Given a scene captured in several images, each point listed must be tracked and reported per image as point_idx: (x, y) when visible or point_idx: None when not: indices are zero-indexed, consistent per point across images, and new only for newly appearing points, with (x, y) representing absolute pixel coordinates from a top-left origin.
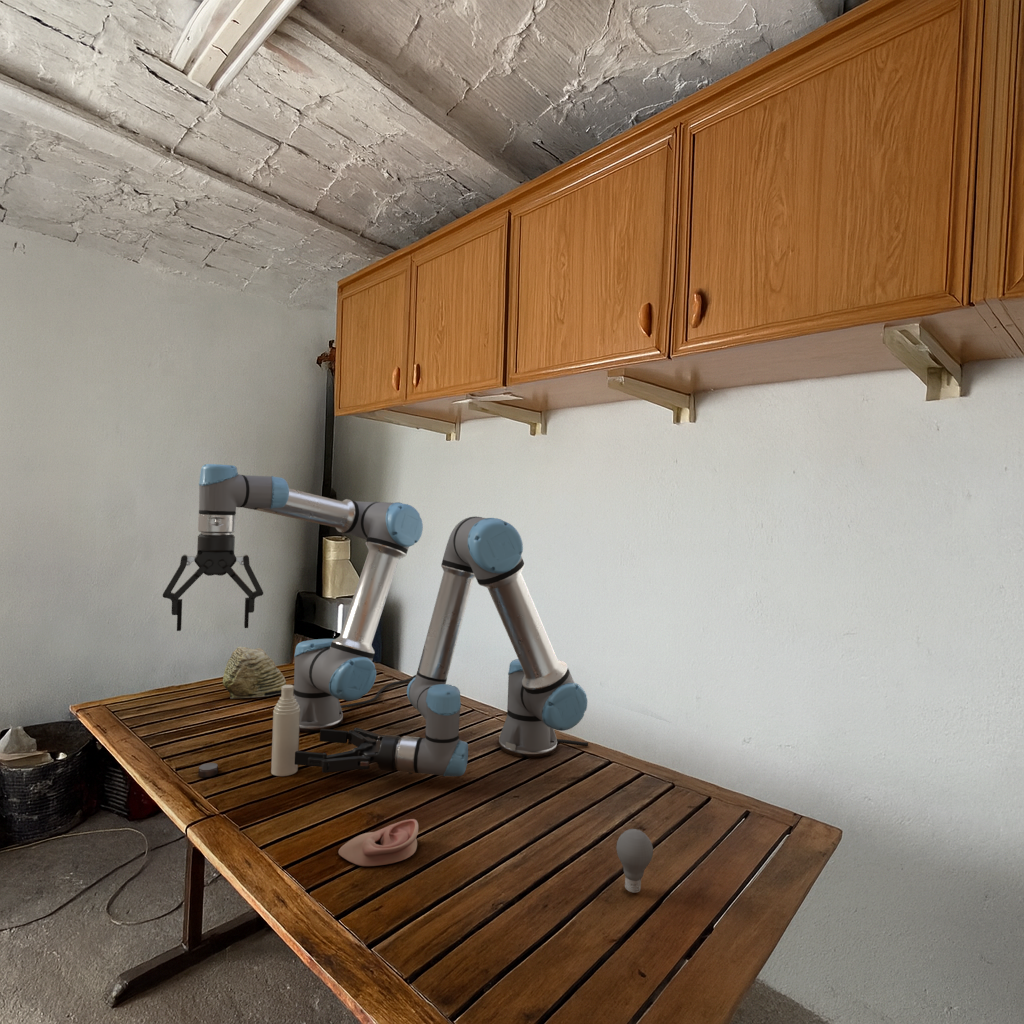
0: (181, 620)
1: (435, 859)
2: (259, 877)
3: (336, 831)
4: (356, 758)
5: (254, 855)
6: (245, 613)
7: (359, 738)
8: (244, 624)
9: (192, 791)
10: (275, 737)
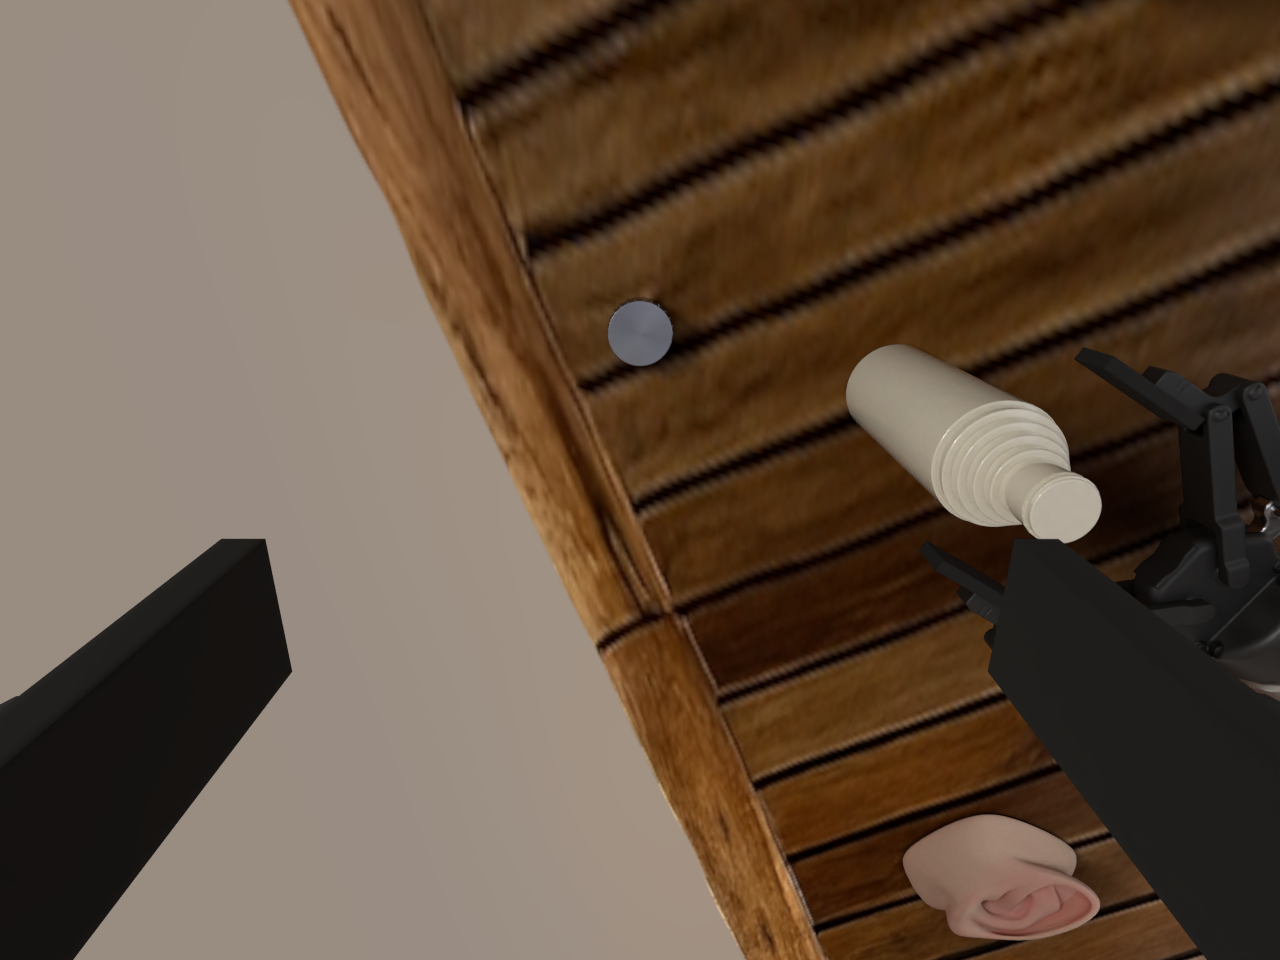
0: (208, 604)
1: None
2: (739, 873)
3: (928, 775)
4: None
5: (738, 806)
6: (1100, 812)
7: (1211, 498)
8: (1017, 614)
9: (595, 453)
10: (897, 459)
